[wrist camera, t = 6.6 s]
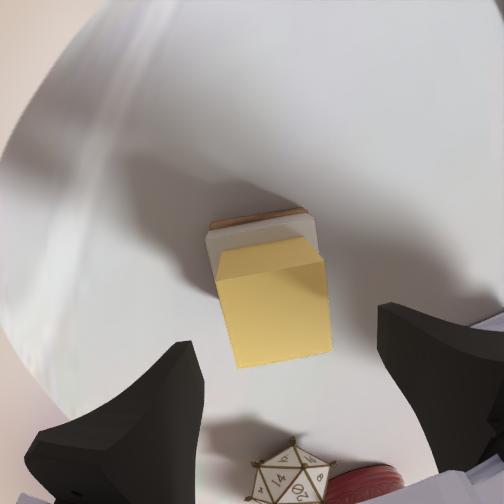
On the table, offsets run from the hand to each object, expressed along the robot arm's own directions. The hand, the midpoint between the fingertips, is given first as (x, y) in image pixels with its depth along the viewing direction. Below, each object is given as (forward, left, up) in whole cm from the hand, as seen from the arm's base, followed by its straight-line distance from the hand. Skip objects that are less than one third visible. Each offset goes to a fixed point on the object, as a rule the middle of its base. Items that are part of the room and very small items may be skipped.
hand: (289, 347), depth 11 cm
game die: (+1, +21, -11) cm, 24 cm away
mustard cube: (0, 0, -7) cm, 7 cm away
